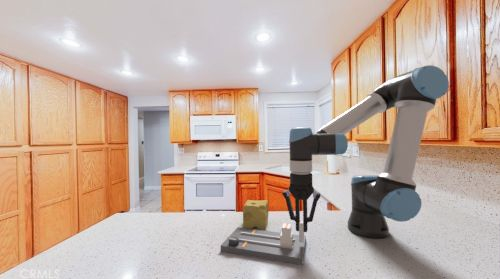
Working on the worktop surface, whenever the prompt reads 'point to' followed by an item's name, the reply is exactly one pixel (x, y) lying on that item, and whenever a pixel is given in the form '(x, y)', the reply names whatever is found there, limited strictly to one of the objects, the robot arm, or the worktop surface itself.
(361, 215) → the robot arm
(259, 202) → the cheese
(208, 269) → the worktop surface
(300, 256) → the console
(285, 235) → the fader
